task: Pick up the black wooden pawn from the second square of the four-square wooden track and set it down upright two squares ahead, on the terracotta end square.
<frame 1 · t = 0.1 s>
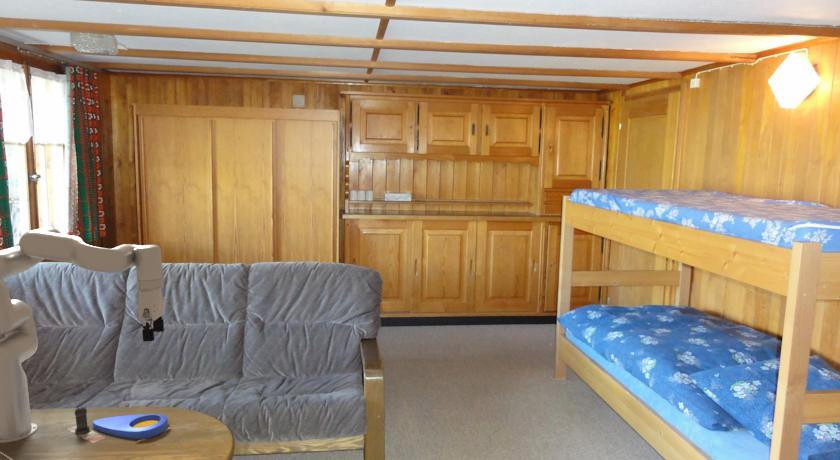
hand: (153, 336, 191), 31 cm above the table, tool pointing down, fingers open, 9 cm apart
location marker: (129, 431, 194), on the table
board: (86, 435, 190), on the table
pawn: (82, 431, 191), point 1 cm above the table, touching board
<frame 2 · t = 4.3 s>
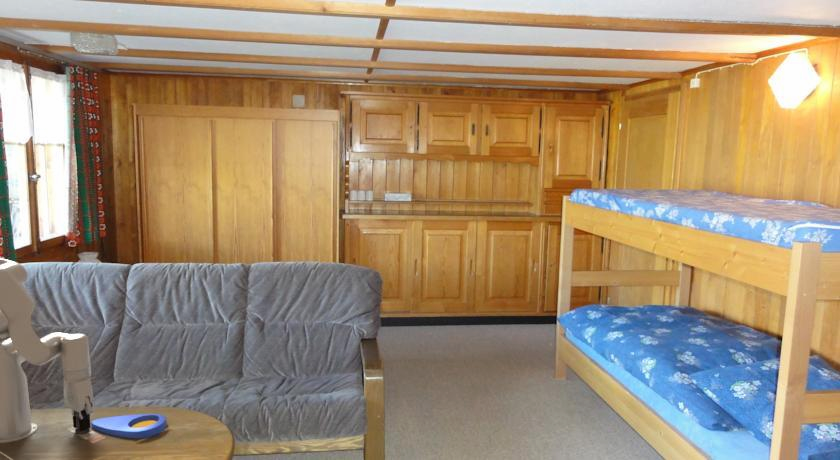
hand: (82, 427, 191), 2 cm above the table, tool pointing down, fingers closed on pawn, 3 cm apart
pawn: (82, 431, 191), point 1 cm above the table, touching board, gripper
everything else where it was.
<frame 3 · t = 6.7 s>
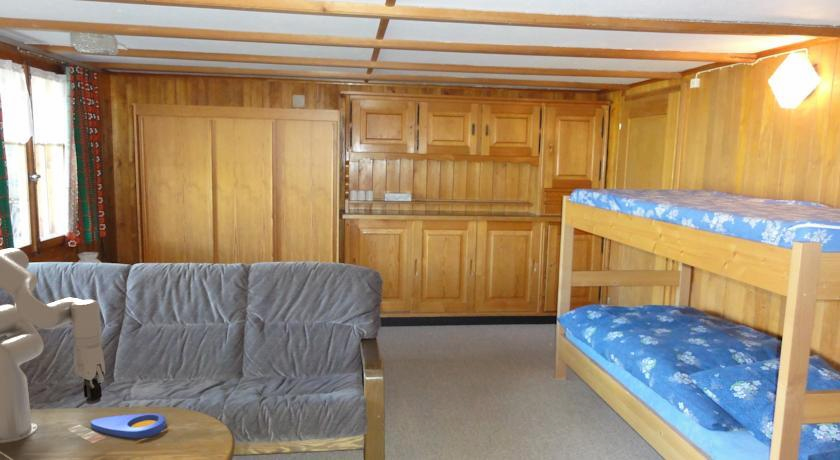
hand: (93, 396, 185), 14 cm above the table, tool pointing down, fingers closed on pawn, 3 cm apart
pawn: (93, 401, 185), point 13 cm above the table, touching gripper
everything else where it was.
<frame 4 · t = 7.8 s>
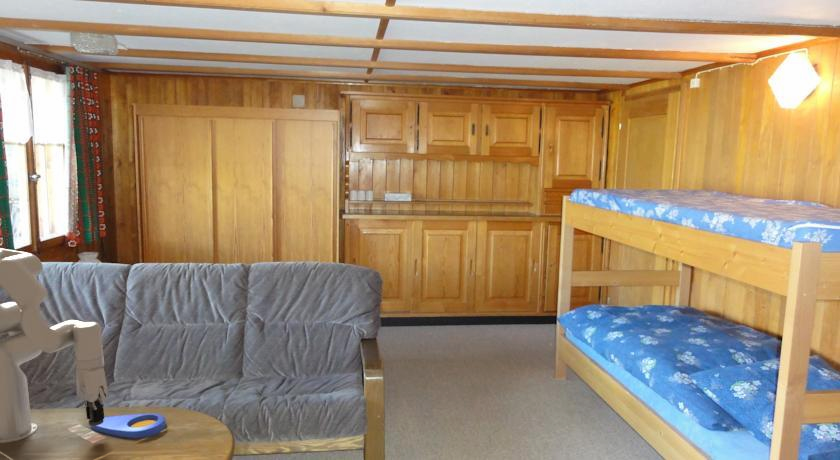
hand: (95, 418, 186), 7 cm above the table, tool pointing down, fingers closed on pawn, 3 cm apart
pawn: (96, 422, 186), point 6 cm above the table, touching gripper
everything else where it was.
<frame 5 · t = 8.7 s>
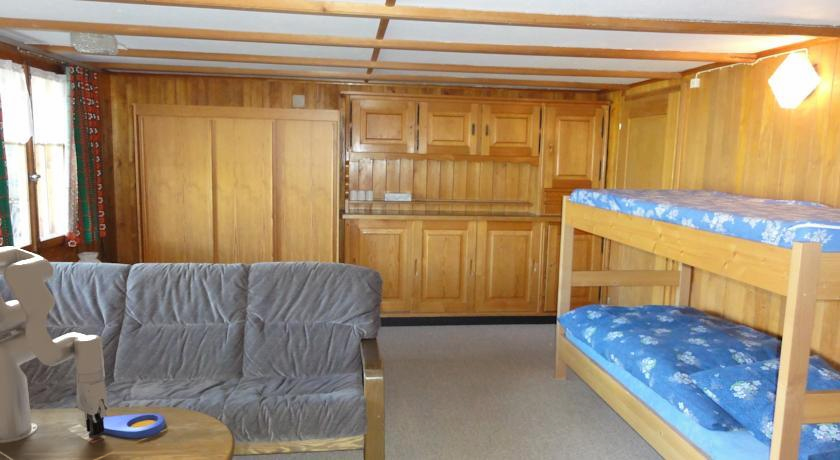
hand: (95, 431, 186), 3 cm above the table, tool pointing down, fingers closed on pawn, 3 cm apart
pawn: (96, 435, 187), point 2 cm above the table, touching gripper
when the fingers open (3 cm above the table, at t = 9.2 s): pawn stays where it is, resting on board.
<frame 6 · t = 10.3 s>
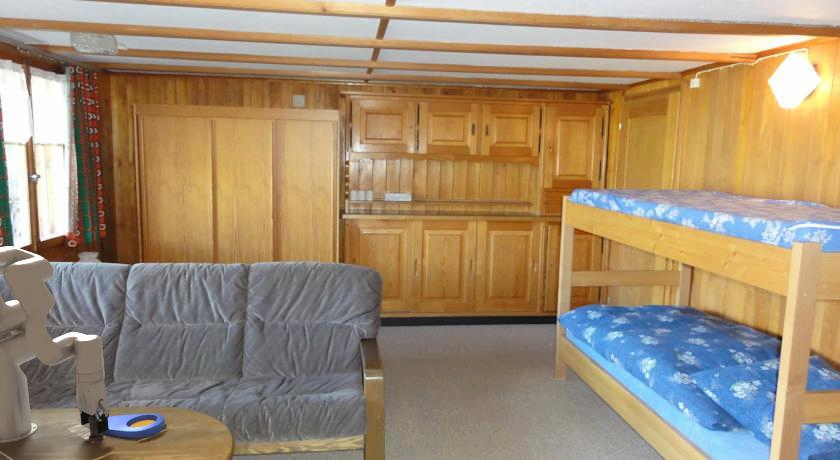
hand: (94, 427, 186), 4 cm above the table, tool pointing down, fingers open, 9 cm apart
pawn: (96, 438, 187), point 1 cm above the table, touching board
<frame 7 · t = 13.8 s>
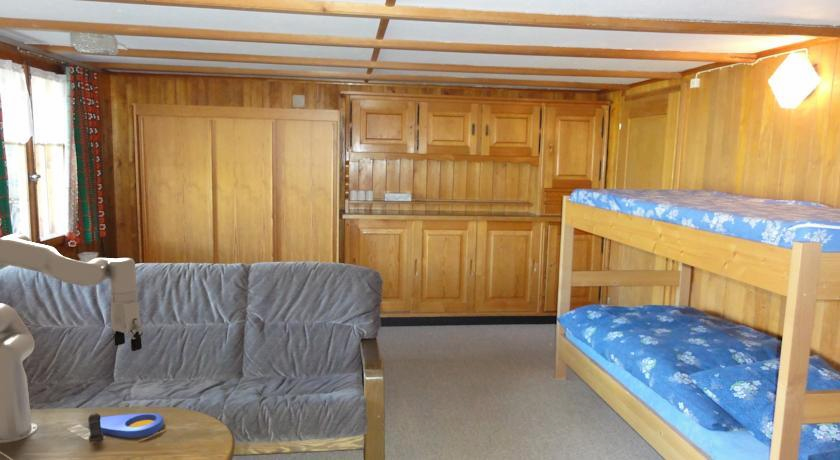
hand: (128, 347, 195), 26 cm above the table, tool pointing down, fingers open, 9 cm apart
at the end: pawn 0.0 cm from the target spot on the board, point 0.6 cm above the board's base; pawn tilted 0°; the gripper is holding nothing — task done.
